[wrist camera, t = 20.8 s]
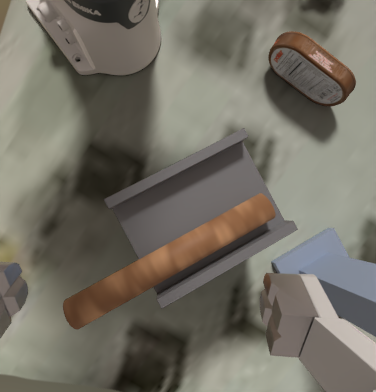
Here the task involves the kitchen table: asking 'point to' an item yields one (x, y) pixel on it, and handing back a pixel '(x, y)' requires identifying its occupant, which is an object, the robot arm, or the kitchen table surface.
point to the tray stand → (196, 211)
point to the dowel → (166, 261)
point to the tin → (311, 69)
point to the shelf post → (336, 277)
